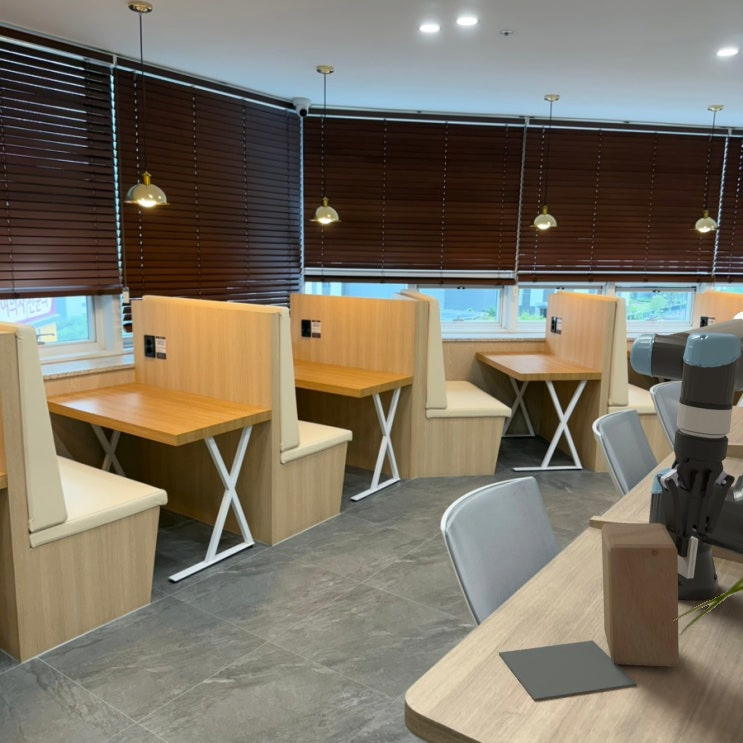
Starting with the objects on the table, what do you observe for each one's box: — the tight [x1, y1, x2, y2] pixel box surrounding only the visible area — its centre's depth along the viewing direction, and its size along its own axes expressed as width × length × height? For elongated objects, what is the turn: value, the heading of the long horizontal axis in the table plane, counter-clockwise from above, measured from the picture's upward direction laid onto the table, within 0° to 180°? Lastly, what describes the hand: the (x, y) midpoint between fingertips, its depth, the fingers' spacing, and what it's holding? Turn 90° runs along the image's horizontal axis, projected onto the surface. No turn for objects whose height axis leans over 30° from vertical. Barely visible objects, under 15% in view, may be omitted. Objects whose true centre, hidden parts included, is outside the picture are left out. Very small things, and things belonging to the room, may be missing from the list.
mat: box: [498, 640, 638, 701], centre depth 107 cm, size 17×12×1 cm
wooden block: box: [601, 522, 680, 667], centre depth 110 cm, size 10×10×20 cm
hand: (684, 574), depth 111 cm, fingers closed
